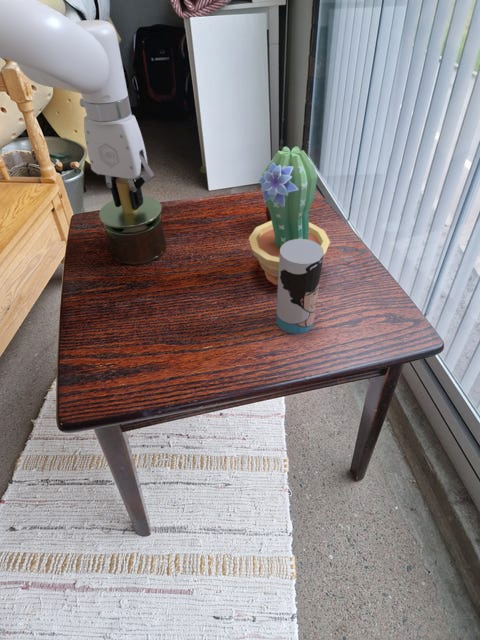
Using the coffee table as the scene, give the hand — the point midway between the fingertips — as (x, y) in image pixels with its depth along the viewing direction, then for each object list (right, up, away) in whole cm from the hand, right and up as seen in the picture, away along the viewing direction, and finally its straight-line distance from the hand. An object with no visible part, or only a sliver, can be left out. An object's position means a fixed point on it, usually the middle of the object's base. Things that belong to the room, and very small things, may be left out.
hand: (129, 204), depth 85 cm
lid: (0, -1, +1) cm, 2 cm away
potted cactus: (+32, -14, +1) cm, 35 cm away
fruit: (+33, -2, +13) cm, 36 cm away
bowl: (0, -8, +7) cm, 11 cm away
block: (0, -7, +7) cm, 10 cm away
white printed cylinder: (+32, -24, -9) cm, 41 cm away
